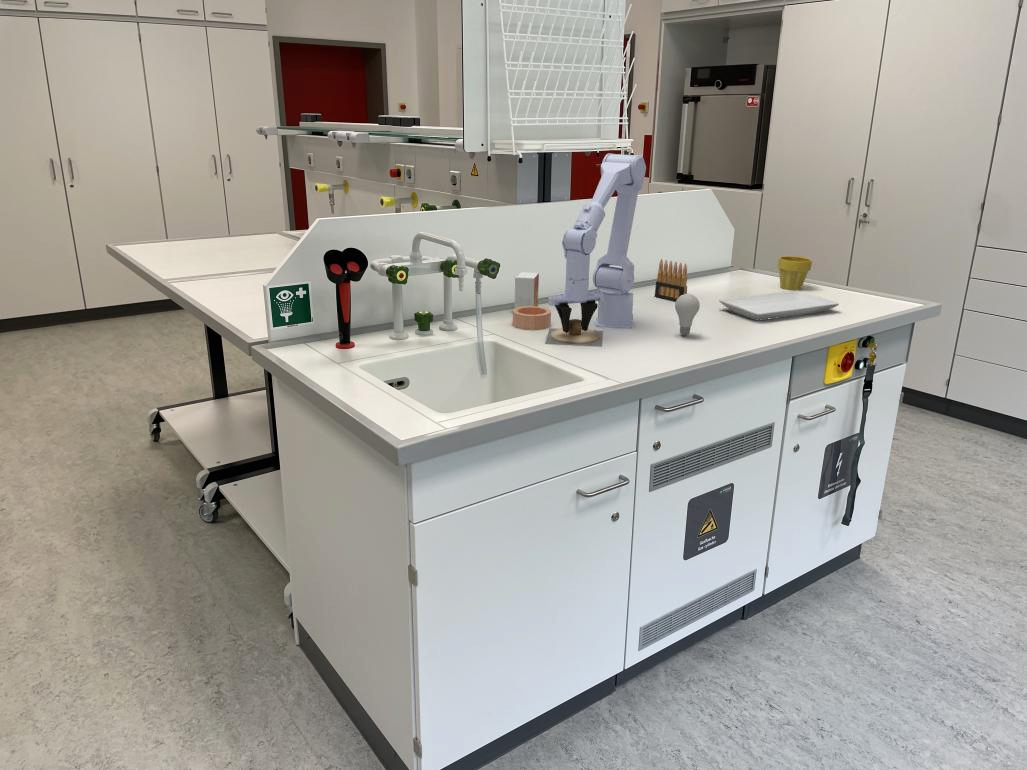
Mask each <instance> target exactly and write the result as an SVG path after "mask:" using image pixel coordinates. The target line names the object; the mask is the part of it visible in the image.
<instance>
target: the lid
mask: <svg viewBox="0 0 1027 770" xmlns="http://www.w3.org/2000/svg"><path fill="white" fill-rule="evenodd" d="M556 329H557V330H554V331H552V333H551V338H552V339H554V340H556V341H558V342H562V343H569V344H586V343H592V342H595V341H597V340H598V338H599V334H598V333H597V332H595V331H593V330H594V329H589V328H588V330H587V331H584V330H582V329H581V319H579V318H573V319H571V318H570V320H569V333H565V332H564V331H563V329H562V327H561V328H556Z"/></svg>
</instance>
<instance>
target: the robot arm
mask: <svg viewBox="0 0 1027 770" xmlns="http://www.w3.org/2000/svg"><path fill="white" fill-rule="evenodd" d="M645 162H646V161H645V159H644V157H643V156H642V155H641V154H636V155H633V154H618V153H617V154H615V153H609V152H608V153H607V154H605V156H604V158H603V159H602V163H601V164H600V175H601V178H600V180H599V182H598V184H597V187H596V189H595V192H594V194H593V197H592V199H591V201H590V202H587V203H585V204H584V205H583V206H582V209H581V211H580V213H579V214H578V217H577V219H576V221H575V222H574V225H573V226H572V227H571V228H568V229H567V230H566V231H565V232H564V234H563V238H562V240H561V245H562V246H561V247H562V249H563V253H564V254H563V255H564V258H565V259H566V260H565V261H566V262H565V263H566V264H565V286H564V287H565V289H564V293H563V294H558V295H553V296H548V305H549V306H551V307H555V309H556V311H557V314H558V316H559V319H560V323H561V328H562V329H563V331H564V332H565V333H569V320H571V314H572V311H573V309H572V307H570V305H569V304H580V310H581V311H580V312H581V313H580V315H581V319H580V320H581V329H582V330H584V331H587V330H588V329H589V325H590V323H591V320H592V318H593V315H594V314H595V312H596V311H597V317H596V319H595V327H598V328H599V327H600V328H619V329H620V328H621V329H622V328H623V329H632V326H633V324H632V323H633V320H634V313H633V310H634V309H633V307H634V306H633V305H634V293H633V292H630V291H631V290H632V288H633V285H634V283H635V274H634V273H635V264H634V263H633V262H632V261H631V260H630V259H629V257H628V256H627V255H628V250H629V244H630V240H631V239H630V238H631V233H632V228H633V224H634V218H635V212H636V206H637V202H638V195H639V192H640V191H641V190H643V188H644V187H643V186H644V182H645V177H646V176H645V175H646V171H647V165H646V163H645ZM615 191H616V193H617V196H616V197H617V198H616V202H615V209H614V214H613V218H612V223H611V224H612V225H611V229H610V235H609V240H608V247H607V253H606V254H605V255H603V256H601V257H600V258H598V260H597V264H596V266H595V269H594V271H593V273H592V283H593V286H594V287H595V289H596V291H597V292H589V286H590V285H589V283H590V281H589V280H590V263H591V262H590V261H591V254H592V252H593V251H594V249H595V248H596V241H597V237H598V233H597V232H598V230H599V228H600V226H601V224H602V223H603V221H604V219H605V216H606V212H605V211H606V210H604V209H605V207H606V206H607V204H608V202H609V201H610V199H611V198H612V196H613V194H614V193H615ZM615 266H617V267H615ZM597 302H598V303H597Z"/></svg>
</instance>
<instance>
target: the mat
mask: <svg viewBox="0 0 1027 770" xmlns="http://www.w3.org/2000/svg"><path fill="white" fill-rule="evenodd" d="M548 328H549V329H548V332H547V334H546V339H545V342H544V344H545V345H555V346H556V345H558V346H560V345H561V346H578V347H579V346H580V347H581V346H582V347H600V348H601V347H603V339H604V338H603V337H604V336H603V334H604V331H603V330H596V329H595V330H594V329H592V330H593V331H595V332H597V333H598V334H599V338H598V340H597V341H595V342H592V343H586V344H569V343H562V342H558V341H556V340H554V339H552V338H551V333H552V331H554V330H557V329H558V328H554V327H553V328H552V327H551V328H550V327H548Z"/></svg>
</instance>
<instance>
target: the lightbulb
mask: <svg viewBox="0 0 1027 770" xmlns="http://www.w3.org/2000/svg"><path fill="white" fill-rule="evenodd" d="M674 303H675V304H674V308H675V311H676V314H677V316H678V322H679V323H678V324H679V334H681V335H682V336H684V337H686V336H688V335H690V333H691V327H692V325H693V321H694V319H695V316H697V314H698V312H699V311H700V307H701V306H700V301H699V299H698V297H696V296H695V295H694V294H693V293H687V294H684V295H681V296H680V297H679V298H678V299H677V300H676V302H674Z"/></svg>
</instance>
